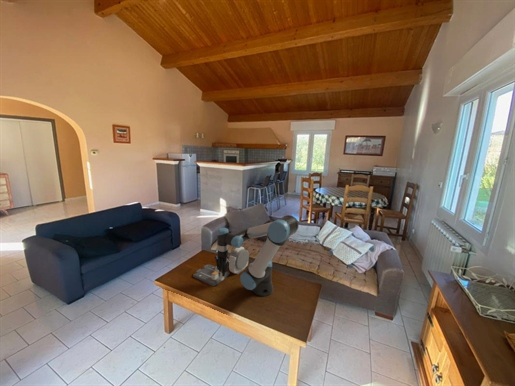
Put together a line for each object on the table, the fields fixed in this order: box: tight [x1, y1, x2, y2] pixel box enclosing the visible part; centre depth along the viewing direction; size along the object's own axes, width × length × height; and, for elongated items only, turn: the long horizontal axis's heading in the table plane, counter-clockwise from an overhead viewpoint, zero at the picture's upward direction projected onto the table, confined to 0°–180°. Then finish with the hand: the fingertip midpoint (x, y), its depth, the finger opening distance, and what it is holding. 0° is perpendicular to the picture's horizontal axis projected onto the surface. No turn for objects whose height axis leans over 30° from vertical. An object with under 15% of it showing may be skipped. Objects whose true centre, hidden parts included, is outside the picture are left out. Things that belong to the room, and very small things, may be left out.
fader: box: [212, 271, 218, 280], centre depth 161 cm, size 3×4×4 cm
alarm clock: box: [228, 246, 250, 275], centre depth 176 cm, size 18×8×20 cm, turn 144°
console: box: [192, 264, 231, 287], centre depth 169 cm, size 21×18×4 cm
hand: (222, 279), depth 158 cm, fingers closed
